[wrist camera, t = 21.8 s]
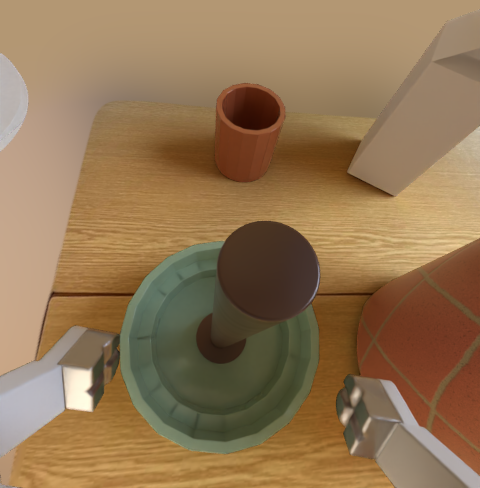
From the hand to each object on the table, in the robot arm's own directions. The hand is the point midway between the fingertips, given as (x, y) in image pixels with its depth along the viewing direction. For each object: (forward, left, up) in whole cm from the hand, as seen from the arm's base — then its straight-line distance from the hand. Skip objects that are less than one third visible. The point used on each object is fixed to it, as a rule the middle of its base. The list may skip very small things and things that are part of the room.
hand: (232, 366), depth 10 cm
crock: (-8, +23, -17) cm, 30 cm away
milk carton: (+9, +31, -18) cm, 37 cm away
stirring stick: (-1, +2, -17) cm, 17 cm away
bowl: (-1, +2, -17) cm, 18 cm away
